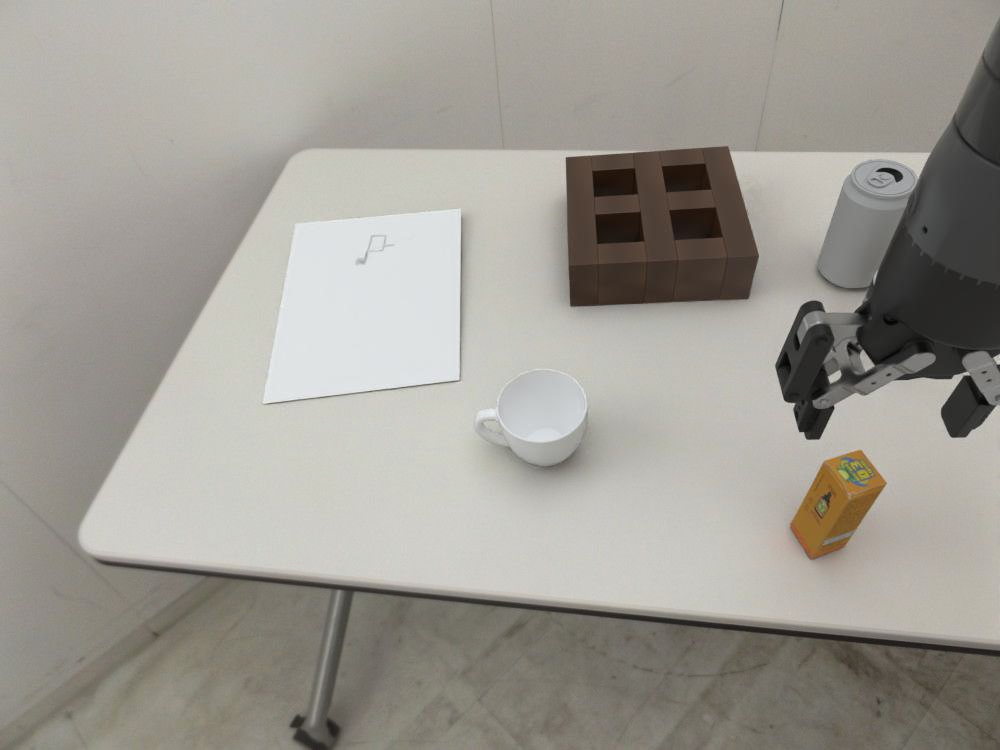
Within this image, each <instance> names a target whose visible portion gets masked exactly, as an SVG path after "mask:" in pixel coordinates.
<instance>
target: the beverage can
mask: <svg viewBox="0 0 1000 750" xmlns="http://www.w3.org/2000/svg"><path fill="white" fill-rule="evenodd" d="M918 179H919V177H918V176H917V174H916V172H915V171H914V170H913V169H912V168H910V167H909V166H907V165H906V164H903V163H901V162H898V161H895V160H890V159H883V158H882V159H880V158H879V159H877V158H875V159H869V160H865V161H861V162H860V163H858V164H856V165H855V166H854V167H853V168H852V170H851V173H850V174H848V175H847V176H846V177H845V179H844V181H843V184H842V186H841V189H840V192H839V195H838V198H837V201H836V205H835V207H834V209H833V213H832V216H831V219H830V221H829V225H828V227H827V230H826V234H825V237H824V240H823V242H822V246H821V249H820V251H819V255H818V258H817V262H816V264H817V268H818V271H819V273H820V274H821V275H822V276H823V277H824V278H825V279H826V280H827V281H828V282H829V283H831V284H833V285H835V286H837V287H840V288H846V289H861V288H866V287H869V286H870V284H871V282H872V279H873V276H874V275H875V273H876V272H877V271H878V269H879V266H880V264H881V262H882V260H883V257H884V255H885V253H886V251H887V248H888V246H889V244H890V242H891V239H892V237H893V235H894V233H895V230H896V228H897V226H898V224H899V221H900V219H901V217H902V215H903V212H904V210H905V208H906V206H907V202H908V198H909V196H910V194H911V192H912V191H913V189H914V188H915V185H916V183H917V181H918Z"/></svg>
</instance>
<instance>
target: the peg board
mask: <svg viewBox="0 0 1000 750" xmlns="http://www.w3.org/2000/svg"><path fill="white" fill-rule="evenodd" d="M565 184H566V186H565V189H566V215H567V216H566V217H567V218H566V221H567V222H566V225H567V226H566V227H567V228H566V229H567V260H568V287H569V288H568V289H569V306H570V307H590V306H612V305H613V306H615V305H635V304H637V305H638V304H657V303H659V304H660V303H679V302H704V301H723V300H725V301H726V300H747V299H749V298H750V294H751V290H752V286H753V282H754V277H755V274H756V270H757V266H758V262H759V257H760V254H759V250H758V246H757V243H756V240H755V236H754V231H753V229H752V225H751V222H750V218H749V215H748V211H747V208H746V204H745V200H744V198H743V193H742V190H741V186H740V182H739V179H738V176H737V172H736V169H735V165H734V162H733V158H732V154H731V151H730V147H729V146H728V145H724V146H722V145H721V146H710V147H709V146H708V147H693V148H681V149H665V150H653V151H651V150H650V151H637V152H636V151H635V152H622V153H608V154H594V155H593V154H592V155H580V156H579V155H575V156H566V157H565Z"/></svg>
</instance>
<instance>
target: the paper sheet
mask: <svg viewBox="0 0 1000 750" xmlns="http://www.w3.org/2000/svg"><path fill="white" fill-rule="evenodd" d="M461 245H462V208H454V209H442V210H431V211H420V212H419V211H418V212H408V213H397V214H387V215H376V216H364V217H354V218H352V217H351V218H341V219H332V220H320V221H309V222H308V221H307V222H298V223H297V222H296V223H294V228H293V235H292V239H291V245H290V251H289V256H288V262H287V268H286V272H285V278H284V283H283V288H282V295H281V300H280V306H279V309H278V310H279V311H278V316H277V321H276V328H275V333H274V337H273V343H272V348H271V355H270V360H269V367H268V371H267V377H266V382H265V387H264V393H263V399H262V405H263V404H271V403H272V404H273V403H280V402H288V401H298V400H305V399H313V398H323V397H331V396H339V395H347V394H355V393H356V394H357V393H364V392H372V391H381V390H389V389H398V388H405V387H413V386H421V385H422V386H423V385H429V384H430V385H431V384H438V383H447V382H454V381H460V368H461V367H460V363H461V361H460V360H461V359H460V358H461V354H460V353H461V349H460V348H461V268H462V267H461V260H462V259H461V257H462V256H461V255H462V254H461V253H462V250H461V249H462V246H461Z"/></svg>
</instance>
